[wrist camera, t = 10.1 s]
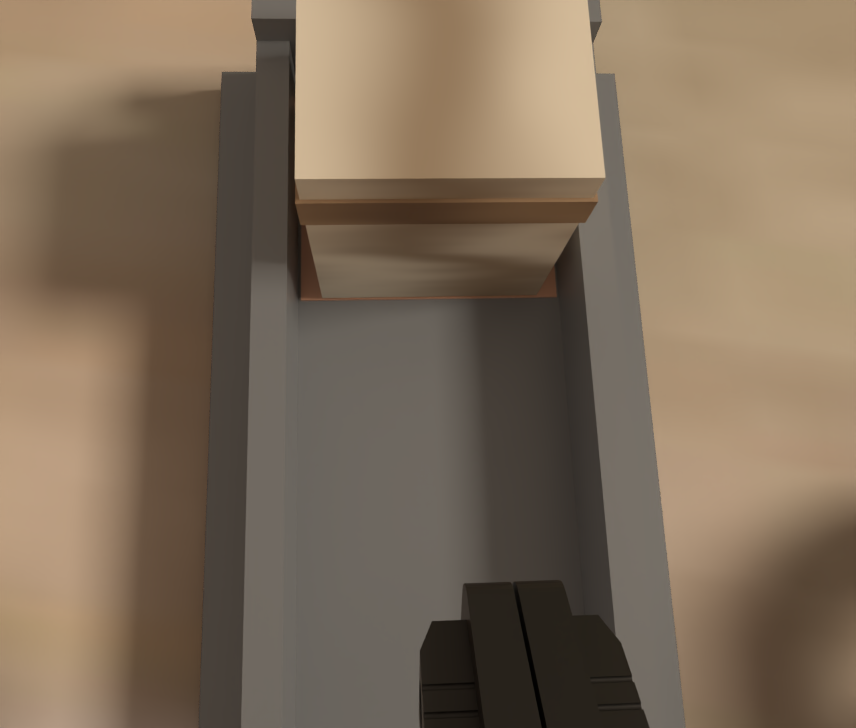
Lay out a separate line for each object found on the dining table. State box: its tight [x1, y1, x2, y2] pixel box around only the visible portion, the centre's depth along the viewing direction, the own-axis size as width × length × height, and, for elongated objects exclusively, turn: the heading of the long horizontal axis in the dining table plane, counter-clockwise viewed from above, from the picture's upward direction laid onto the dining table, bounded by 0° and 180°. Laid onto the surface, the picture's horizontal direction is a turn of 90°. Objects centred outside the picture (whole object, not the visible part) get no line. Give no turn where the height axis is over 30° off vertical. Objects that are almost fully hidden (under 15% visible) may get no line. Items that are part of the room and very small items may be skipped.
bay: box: [199, 0, 686, 728], centre depth 22 cm, size 14×26×5 cm, turn 2°
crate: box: [295, 0, 606, 298], centre depth 22 cm, size 7×7×8 cm
